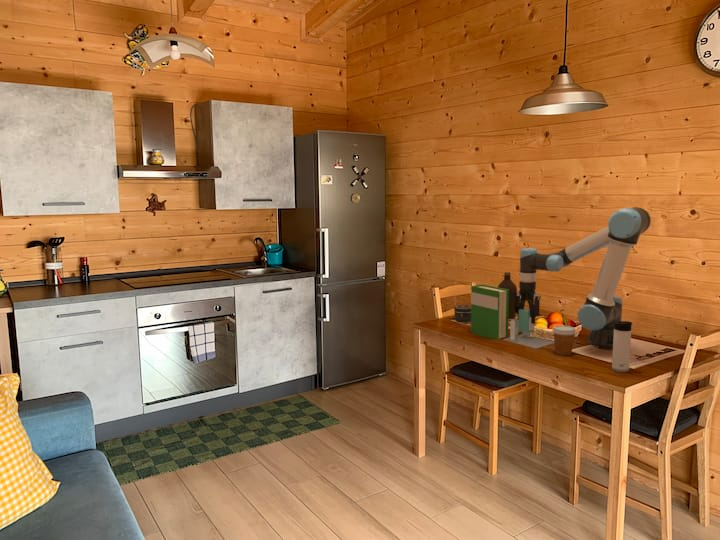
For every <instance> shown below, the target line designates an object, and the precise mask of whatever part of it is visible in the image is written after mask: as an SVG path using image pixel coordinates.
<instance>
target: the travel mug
mask: <svg viewBox="0 0 720 540" xmlns="http://www.w3.org/2000/svg"><path fill="white" fill-rule="evenodd" d="M632 326H633V322H632V321H629V320H625V321H624V320H621V321H619V322H616V323H614V338H613V350H612V360H611V361H612V362H611V370H613V372H617V373H629V371H630V361H631V344H632Z"/></svg>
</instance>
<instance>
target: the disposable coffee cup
mask: <svg viewBox="0 0 720 540" xmlns="http://www.w3.org/2000/svg"><path fill="white" fill-rule="evenodd" d="M552 333H553V337H554V338H553V339H554V341H553V342H555V343H554V350H555V354H556V355H561V356H570V355H572V351H573V347H574V346H573V345H574V340H575V335H576V333H577V331H576V329H575V327H574V326H571V325H563V324H562V325H555V326H554V327H553V329H552Z"/></svg>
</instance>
